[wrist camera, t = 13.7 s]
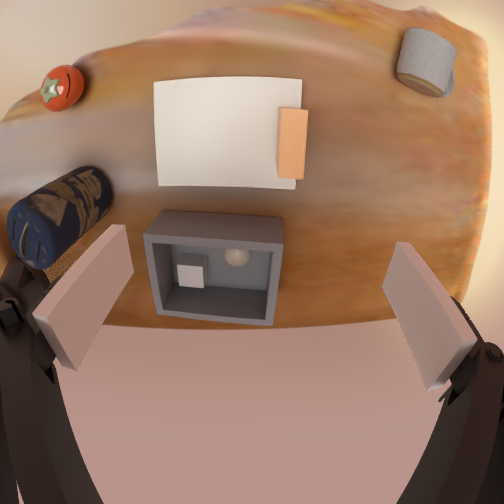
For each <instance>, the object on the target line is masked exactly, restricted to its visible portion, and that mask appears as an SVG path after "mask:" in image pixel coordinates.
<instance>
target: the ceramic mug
mask: <svg viewBox="0 0 504 504" xmlns="http://www.w3.org/2000/svg"><path fill="white" fill-rule="evenodd" d="M456 56H457V51H456V49H455V47H454V46H453V45H452V44H451V43H450V42H449V41H448V40H446V39H445V38H443V37H441V36H440V35H438V34H436V33H434V32H432V31H429V30H426V29H422V28H418V27H411V28H407V29H406V30H405V32H404V37H403V42H402V46H401V51H400V56H399V59H398V63H397V71H396V75H397V77H398V79H399V80H400V81H401V82H402V83H404V84H405V85H407V86H409V87H411V88H412V89H415V90H417V91H419V92H421V93H423V94H426V95H429V96H432V97H437V98H438V97H441V96H442V97H447V96H448V95H450V93H451V92H452V90H453V87H454V81H455V76H454V71H453V66H454V63H455V59H456Z"/></svg>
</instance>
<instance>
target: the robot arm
mask: <svg viewBox="0 0 504 504" xmlns="http://www.w3.org/2000/svg"><path fill="white" fill-rule="evenodd" d="M133 273H134V271H133V266H132V261H131V256H130V251H129V245H128V240H127V234H126V228H125V225H115V224H112V225H111V226H110V227H109V228H108V229H107V230H106V231H105V232H104V233H103V234H102V235H101V236H100V237H99V238H98V239H97V240H96V241H95V242H94V243H93V244H92V245H91V246H90V247H89V248H88V249H87V250H86V251H85V252H84V253H83V254H82V255H81V256H80V258H79V259H78V260H77V261H76V262H75V263H74V264H73V265H72V266H71V267H70V268H69V270H68V271H67V272H66V273H65V274H62V275H61V276H59V277H58V278H56V279H55V280H54V281H53V282H52V283H51V284H50V283H49V281H48V279H47V277H46V276H45V274H44V273H43V271H42V270H39V269H34V268H32V267H30V266H29V265H27V264H26V263H25V262H23V261H22V260H21V258H20V257H19V256H18V255H15V256H14V257H13V258H12V259H11V260H10V261H9V262H8V264H7V266H6V268H5V270H4V272H3V274H2V276H1V278H0V504H19V499H18V491H17V484H18V487H19V490H20V493H21V496H22V499H23V502H24V504H104V503H103V501H102V500H101V498H100V496H99V494H98V492H97V490H96V488H95V485H94V483H93V482H92V479H91V477H90V475H89V473H88V470H87V468H86V465H85V463H84V461H83V458H82V456H81V453H80V451H79V448H78V445H77V443H76V440H75V437H74V434H73V431H72V428H71V425H70V422H69V419H68V416H67V412H66V408H65V405H64V401H63V397H62V394H61V389H60V386H59V381H58V377H57V372H56V368H55V366H54V364H53V361H54V359H55V357H57V359H58V360H59V362H60V363H61V365H62V366H64V367H67V368H70V369H73V370H76V371H77V369H78V367H79V365H80V364H81V362H82V360H83V358H84V356H85V354H86V352H87V350H88V349H89V347H90V345H91V343H92V341H93V339H94V338H95V336H96V334H97V332H98V331H99V329H100V327H101V325H102V324H103V322H104V320H105V318H106V317H107V315H108V313H109V312H110V310H111V308H112V306H113V305H114V303H115V302H116V300H117V298H118V297H119V295H120V293H121V292H122V290H123V289H124V287H125V285H126V284H127V282H128V281H129V279H130V277H131V276H132V274H133ZM382 289H383V291H384V293H385V295H386V297H387V299H388V301H389V303H390V305H391V307H392V309H393V311H394V313H395V315H396V318H397V320H398V322H399V324H400V326H401V328H402V331H403V333H404V335H405V337H406V340H407V342H408V344H409V347H410V349H411V351H412V354H413V356H414V358H415V361H416V363H417V366H418V368H419V371H420V374H421V376H422V379H423V381H424V384H425V387H426V389H427V391H428V390H433V389H438V388H441V387H442V386H443V385H444V384H445V383H446V382H447V380H448V379H450V381H451V383H452V385H451V386H450V387H449V388H448V389H447V391H446V392H445V393H444V394H443V395H442V396H441V397H440V399H439V400H438V401H439V402H441V401H442V400H443V398H445V400H444V403H443V406H442V409H441V412H440V414H439V417H438V420H437V422H436V425H435V428H434V430H433V432H432V435H431V437H430V440H429V442H428V445H427V446H426V449H425V451H424V453H423V455H422V457H421V460H420V462H419V464H418V466H417V468H416V469H415V471H414V473H413V475H412V477H411V479H410V481H409V483H408V484H407V486H406V488H405V490H404V492H403V493H402V495H401V497H400V498H399V500H398V502H397V503H396V504H504V354H503V352H502V350H500V348H499V347H498V346H497V345H495V344H493V343H490V342H486V343H485V342H484V341H483V339H482V337H481V336H480V334H479V332H478V331H477V329H476V327H475V326H474V324H473V323H472V321H471V320H469V319H470V318H469V317H468V315H467V314H466V313H465V311H464V309H463V308H462V306H461V305H460V303H459V302H458V301H456V300H455V299H454V298H453V297H452V296H450V295H449V294H448V293H447V291H446V290H445V288H444V287H443V286H442V284H441V283H440V281H439V280H438V279H437V277H436V276H435V275H434V273H433V272H432V271H431V269H430V268H429V267H428V265H427V264H426V263H425V262H424V260H423V259H422V258H421V257H420V255H419V254H418V253H417V251H416V250H415V249H414V248H413V247H412V245H411V244H410V243H408V242H396V245H395V249H394V252H393V255H392V258H391V262H390V265H389V268H388V271H387V274H386V276H385V279H384V282H383V285H382ZM16 480H17V483H16Z"/></svg>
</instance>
